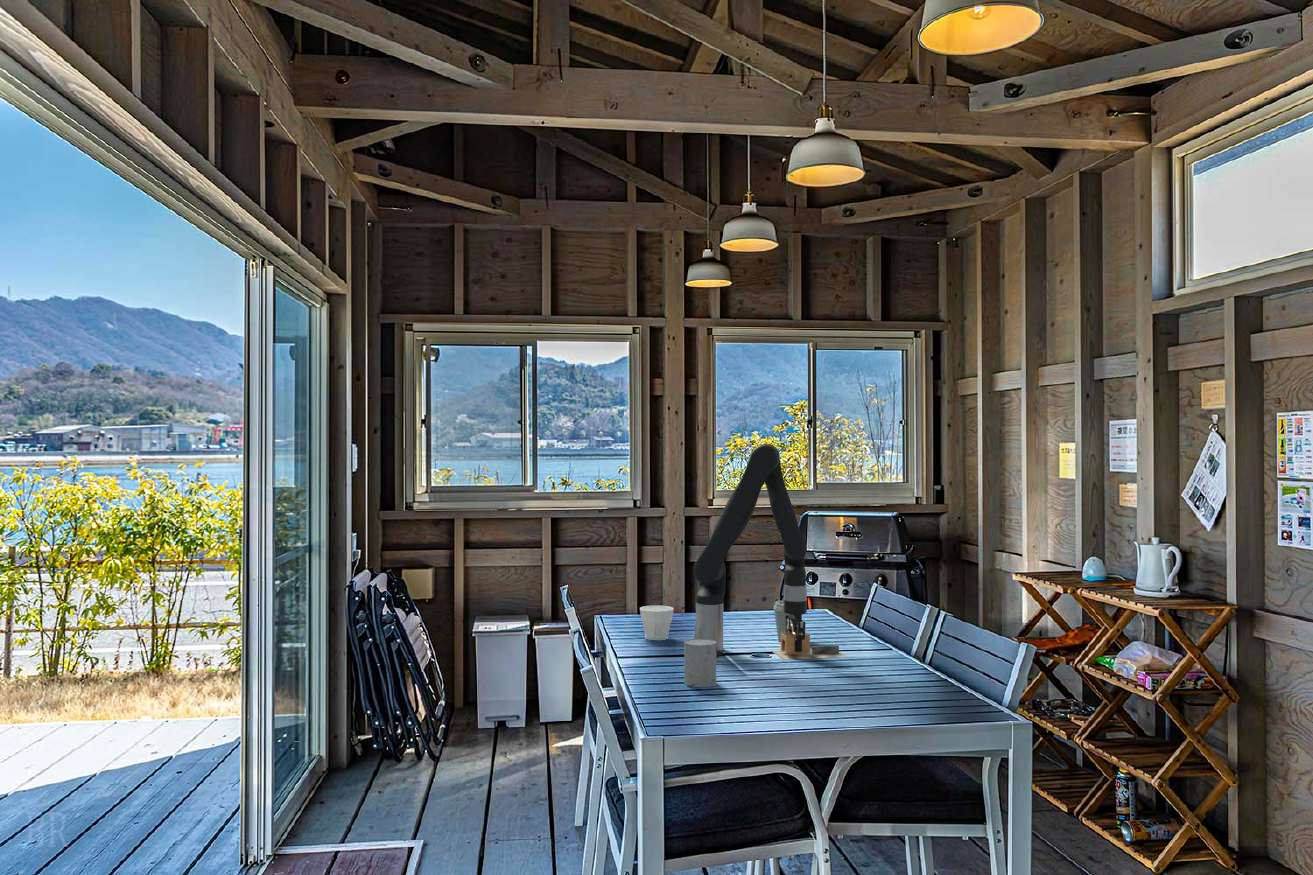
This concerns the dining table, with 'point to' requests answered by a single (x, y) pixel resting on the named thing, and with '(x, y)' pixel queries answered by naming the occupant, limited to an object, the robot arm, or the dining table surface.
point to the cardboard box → (789, 643)
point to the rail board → (814, 653)
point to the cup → (656, 621)
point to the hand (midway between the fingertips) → (795, 649)
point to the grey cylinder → (700, 662)
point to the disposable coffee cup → (780, 618)
